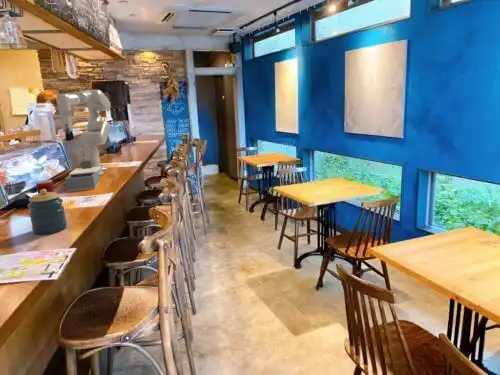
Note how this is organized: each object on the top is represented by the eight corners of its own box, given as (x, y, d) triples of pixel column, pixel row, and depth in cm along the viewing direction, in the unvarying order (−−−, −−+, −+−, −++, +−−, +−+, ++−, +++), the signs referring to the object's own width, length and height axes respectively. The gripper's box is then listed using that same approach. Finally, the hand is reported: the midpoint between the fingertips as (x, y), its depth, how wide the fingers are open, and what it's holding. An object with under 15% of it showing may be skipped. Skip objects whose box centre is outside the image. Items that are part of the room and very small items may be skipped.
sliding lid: (75, 169, 252) (74, 161, 251) (100, 167, 256) (99, 159, 254) (69, 175, 233) (67, 166, 232) (95, 172, 237) (94, 163, 235)
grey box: (74, 184, 244) (72, 172, 242) (99, 182, 247) (98, 170, 245) (67, 191, 225) (64, 178, 223) (95, 188, 228) (93, 176, 226)
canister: (59, 222, 164) (52, 184, 160) (73, 227, 156) (66, 187, 152) (27, 231, 155) (19, 190, 150) (40, 237, 147) (32, 194, 142)
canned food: (58, 198, 210) (54, 179, 207) (49, 202, 202) (45, 182, 199) (45, 198, 210) (42, 179, 208) (36, 202, 203) (32, 182, 200)
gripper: (62, 113, 248) (66, 139, 252) (56, 114, 232) (61, 141, 236) (74, 113, 250) (78, 138, 254) (69, 113, 234) (74, 140, 238)
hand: (70, 140), depth 245 cm, fingers open, 9 cm apart
